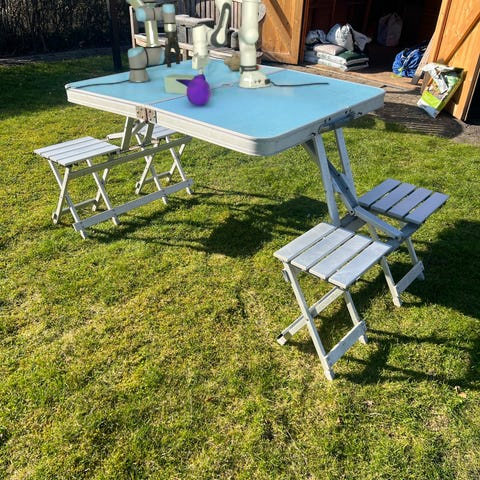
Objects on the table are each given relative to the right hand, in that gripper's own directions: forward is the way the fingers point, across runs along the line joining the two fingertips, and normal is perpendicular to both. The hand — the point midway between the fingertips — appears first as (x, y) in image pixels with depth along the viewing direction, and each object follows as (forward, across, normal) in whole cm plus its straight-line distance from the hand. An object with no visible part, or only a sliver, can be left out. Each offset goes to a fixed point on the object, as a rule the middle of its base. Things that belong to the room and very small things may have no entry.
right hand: (201, 74), depth 294 cm
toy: (+12, -27, -8) cm, 31 cm away
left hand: (-4, +3, +22) cm, 22 cm away
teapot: (+12, +83, +8) cm, 84 cm away
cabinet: (+12, 0, +15) cm, 19 cm away
